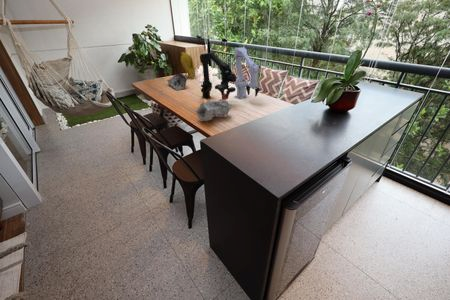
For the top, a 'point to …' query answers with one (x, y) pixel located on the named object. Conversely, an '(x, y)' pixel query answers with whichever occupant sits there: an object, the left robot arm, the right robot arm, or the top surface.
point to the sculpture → (188, 64)
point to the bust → (213, 110)
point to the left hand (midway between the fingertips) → (225, 97)
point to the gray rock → (177, 81)
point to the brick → (224, 96)
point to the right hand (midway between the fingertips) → (252, 95)
